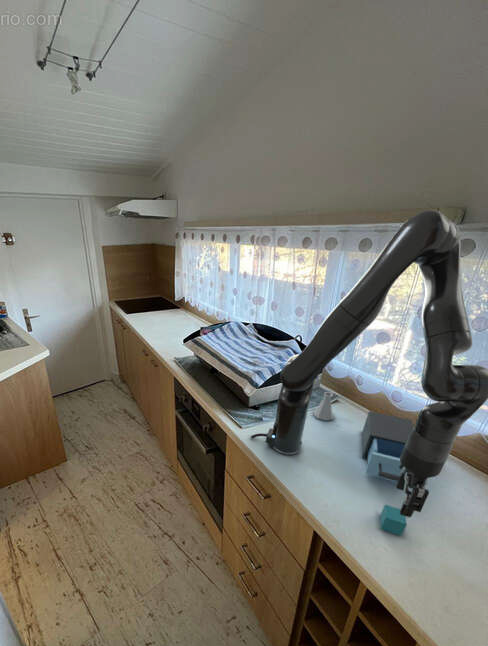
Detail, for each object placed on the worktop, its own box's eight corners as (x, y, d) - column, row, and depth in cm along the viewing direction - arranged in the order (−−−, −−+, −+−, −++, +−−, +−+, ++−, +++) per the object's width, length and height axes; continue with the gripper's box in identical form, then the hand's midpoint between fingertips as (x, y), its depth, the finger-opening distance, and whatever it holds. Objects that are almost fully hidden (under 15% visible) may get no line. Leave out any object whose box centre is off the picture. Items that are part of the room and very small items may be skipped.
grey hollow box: (407, 469, 95) (418, 445, 90) (362, 457, 100) (370, 434, 95) (402, 442, 106) (411, 419, 102) (361, 432, 111) (369, 410, 107)
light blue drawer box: (411, 498, 84) (421, 478, 81) (365, 484, 89) (372, 464, 85) (404, 456, 99) (412, 437, 95) (364, 446, 103) (371, 428, 100)
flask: (334, 421, 117) (340, 399, 113) (315, 419, 119) (320, 398, 114) (331, 411, 124) (336, 390, 119) (312, 409, 125) (316, 388, 120)
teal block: (380, 529, 77) (385, 517, 75) (379, 515, 81) (384, 504, 79) (401, 536, 76) (406, 524, 73) (399, 522, 79) (404, 510, 77)
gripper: (456, 477, 59) (426, 531, 67) (440, 435, 70) (416, 485, 78) (410, 466, 62) (387, 518, 70) (401, 427, 73) (382, 476, 81)
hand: (402, 501), depth 74 cm, fingers open, 8 cm apart
